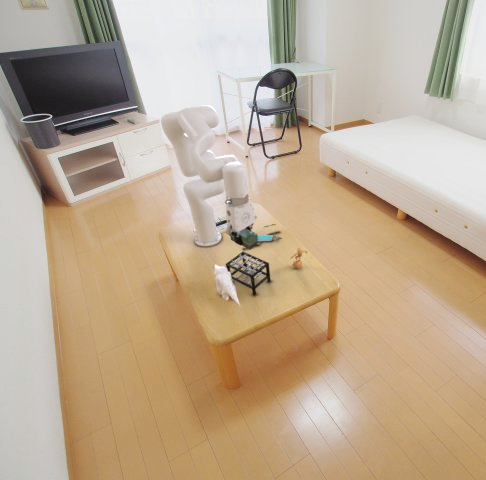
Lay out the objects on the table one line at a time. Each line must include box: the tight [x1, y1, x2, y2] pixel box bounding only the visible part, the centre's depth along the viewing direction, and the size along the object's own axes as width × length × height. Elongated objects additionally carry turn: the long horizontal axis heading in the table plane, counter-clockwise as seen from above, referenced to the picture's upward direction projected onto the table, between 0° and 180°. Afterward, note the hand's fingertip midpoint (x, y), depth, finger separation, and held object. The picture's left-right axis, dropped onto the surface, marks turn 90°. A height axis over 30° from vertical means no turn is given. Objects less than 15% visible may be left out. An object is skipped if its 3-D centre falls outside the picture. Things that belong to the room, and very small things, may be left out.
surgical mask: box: [242, 223, 283, 250], centre depth 164 cm, size 21×4×10 cm
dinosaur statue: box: [213, 264, 241, 307], centre depth 130 cm, size 7×24×11 cm, turn 35°
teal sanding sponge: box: [228, 228, 259, 251], centre depth 127 cm, size 11×4×5 cm, turn 54°
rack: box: [225, 251, 272, 297], centre depth 137 cm, size 14×10×10 cm
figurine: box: [289, 247, 308, 270], centre depth 144 cm, size 8×6×12 cm
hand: (243, 240), depth 128 cm, fingers closed on teal sanding sponge, 4 cm apart
